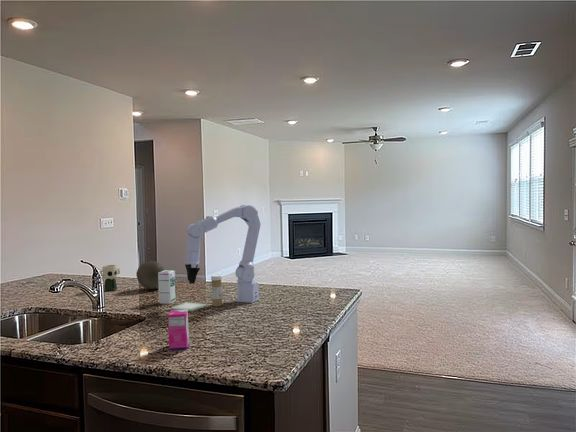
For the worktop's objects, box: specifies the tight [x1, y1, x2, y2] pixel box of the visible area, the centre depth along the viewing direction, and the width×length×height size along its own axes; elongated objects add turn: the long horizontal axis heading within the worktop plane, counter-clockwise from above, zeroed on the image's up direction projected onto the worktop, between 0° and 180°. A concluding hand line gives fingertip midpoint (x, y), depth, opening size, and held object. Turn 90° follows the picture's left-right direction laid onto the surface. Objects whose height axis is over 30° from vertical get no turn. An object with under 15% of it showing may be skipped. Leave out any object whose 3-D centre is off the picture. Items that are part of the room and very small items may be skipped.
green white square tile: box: [170, 301, 207, 312], centre depth 197 cm, size 11×11×1 cm
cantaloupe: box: [135, 260, 165, 290], centre depth 236 cm, size 14×14×15 cm
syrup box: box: [158, 269, 177, 305], centre depth 206 cm, size 6×6×14 cm
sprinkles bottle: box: [210, 274, 223, 307], centre depth 199 cm, size 5×5×14 cm
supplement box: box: [167, 309, 190, 351], centre depth 144 cm, size 6×6×12 cm
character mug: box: [99, 264, 121, 291], centre depth 236 cm, size 11×7×13 cm, turn 139°
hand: (191, 281), depth 197 cm, fingers open, 7 cm apart
